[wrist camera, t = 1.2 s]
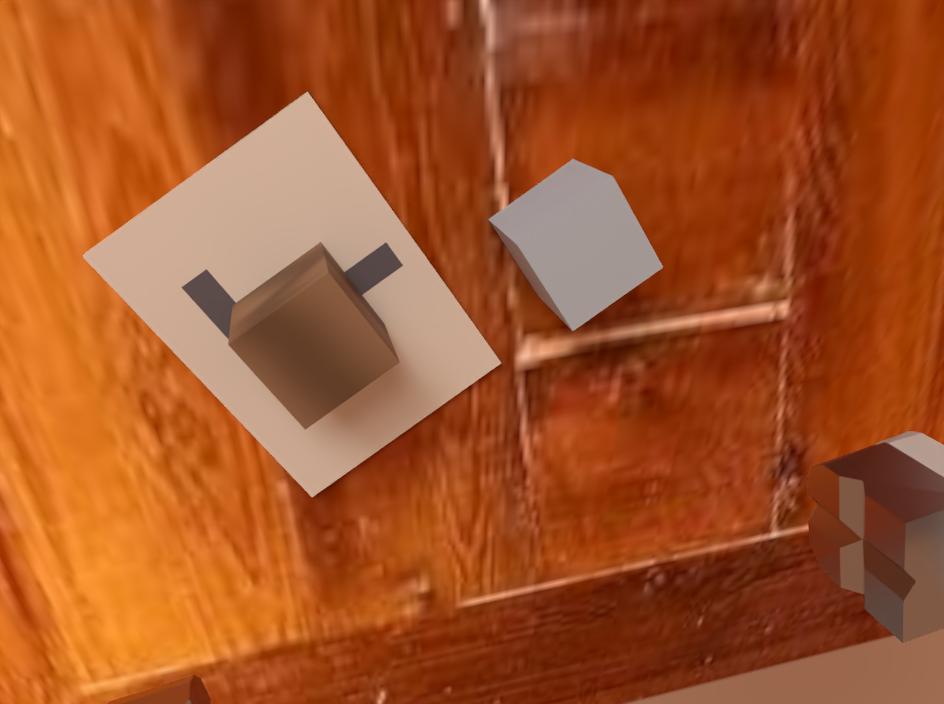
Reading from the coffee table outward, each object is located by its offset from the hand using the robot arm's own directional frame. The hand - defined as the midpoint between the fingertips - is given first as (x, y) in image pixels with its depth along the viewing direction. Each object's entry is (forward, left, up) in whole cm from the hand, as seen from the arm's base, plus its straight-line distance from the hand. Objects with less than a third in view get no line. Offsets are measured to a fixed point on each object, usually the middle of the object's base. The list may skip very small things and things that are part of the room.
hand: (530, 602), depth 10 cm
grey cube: (-7, +8, -29) cm, 31 cm away
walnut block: (+5, +4, -29) cm, 29 cm away
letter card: (+5, +4, -29) cm, 30 cm away
